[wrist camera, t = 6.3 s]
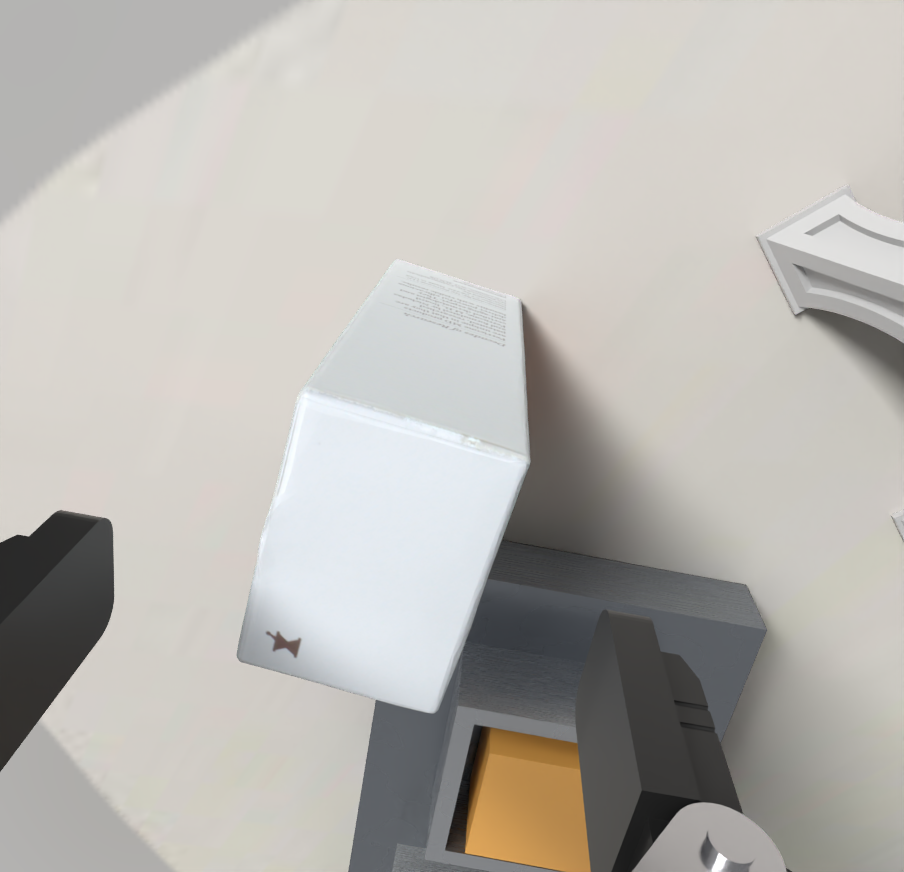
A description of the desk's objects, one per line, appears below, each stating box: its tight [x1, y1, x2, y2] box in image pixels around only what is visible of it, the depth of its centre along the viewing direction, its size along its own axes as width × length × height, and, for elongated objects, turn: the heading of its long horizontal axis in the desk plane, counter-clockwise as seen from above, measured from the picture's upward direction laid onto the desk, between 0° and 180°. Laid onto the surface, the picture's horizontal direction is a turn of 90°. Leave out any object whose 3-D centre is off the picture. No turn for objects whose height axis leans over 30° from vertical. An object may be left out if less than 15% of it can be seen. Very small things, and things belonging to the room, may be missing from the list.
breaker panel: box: [348, 540, 767, 872], centre depth 29 cm, size 12×24×6 cm, turn 171°
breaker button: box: [465, 726, 591, 872], centre depth 26 cm, size 4×4×3 cm
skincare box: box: [237, 259, 531, 713], centre depth 19 cm, size 6×4×12 cm
